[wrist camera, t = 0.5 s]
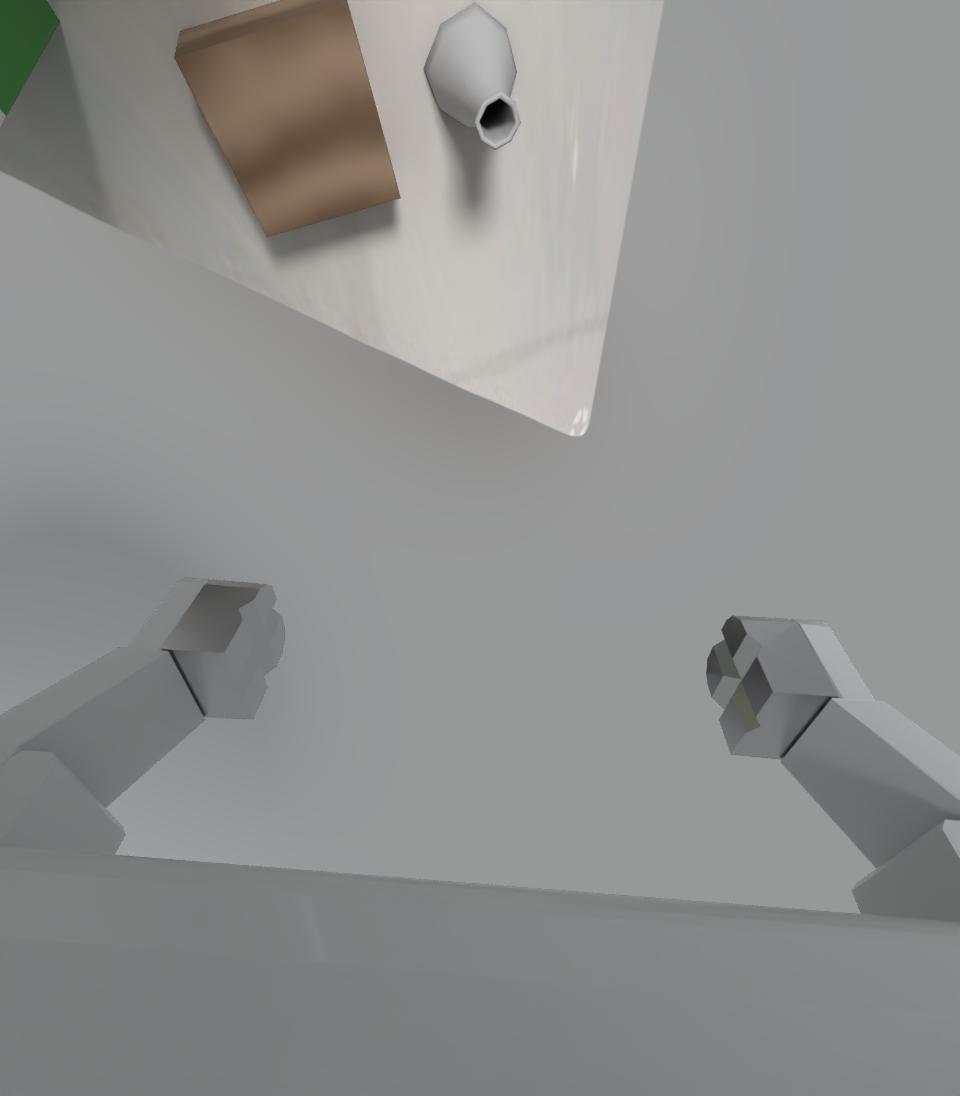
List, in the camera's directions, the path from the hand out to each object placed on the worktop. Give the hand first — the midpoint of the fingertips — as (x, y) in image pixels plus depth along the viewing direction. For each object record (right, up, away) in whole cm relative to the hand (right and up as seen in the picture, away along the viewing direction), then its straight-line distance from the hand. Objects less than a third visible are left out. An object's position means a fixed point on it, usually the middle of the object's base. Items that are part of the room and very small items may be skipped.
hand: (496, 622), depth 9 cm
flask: (-1, +40, +33) cm, 52 cm away
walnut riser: (-15, +37, +32) cm, 51 cm away
